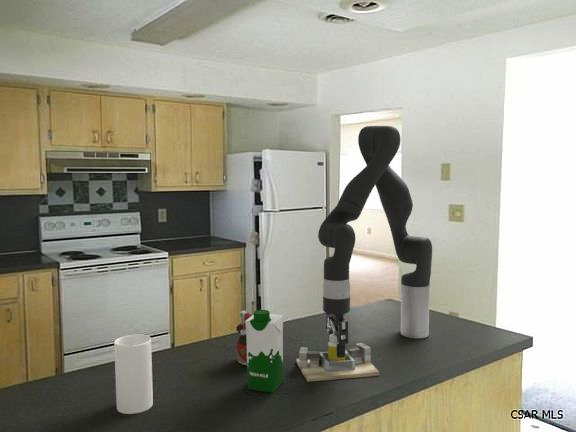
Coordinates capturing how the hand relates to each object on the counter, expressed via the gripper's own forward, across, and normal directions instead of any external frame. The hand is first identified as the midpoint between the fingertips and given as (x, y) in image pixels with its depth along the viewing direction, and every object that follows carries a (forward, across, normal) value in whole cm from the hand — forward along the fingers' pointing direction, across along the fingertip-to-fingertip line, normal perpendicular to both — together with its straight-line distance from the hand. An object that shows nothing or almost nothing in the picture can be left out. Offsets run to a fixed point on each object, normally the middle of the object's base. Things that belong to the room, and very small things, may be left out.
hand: (336, 351), depth 140 cm
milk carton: (+5, -7, +21) cm, 23 cm away
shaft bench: (+5, 0, 0) cm, 5 cm away
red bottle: (+5, +10, +22) cm, 25 cm away
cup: (+5, -12, +53) cm, 55 cm away
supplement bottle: (+4, 0, 0) cm, 4 cm away
